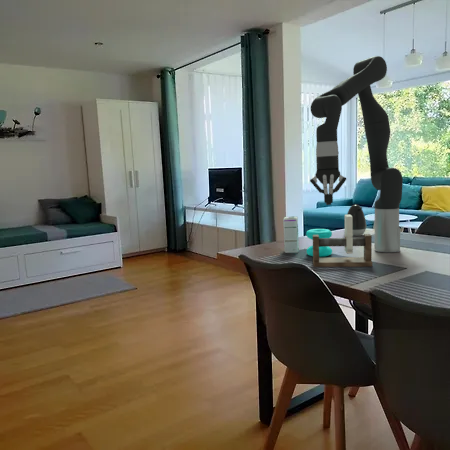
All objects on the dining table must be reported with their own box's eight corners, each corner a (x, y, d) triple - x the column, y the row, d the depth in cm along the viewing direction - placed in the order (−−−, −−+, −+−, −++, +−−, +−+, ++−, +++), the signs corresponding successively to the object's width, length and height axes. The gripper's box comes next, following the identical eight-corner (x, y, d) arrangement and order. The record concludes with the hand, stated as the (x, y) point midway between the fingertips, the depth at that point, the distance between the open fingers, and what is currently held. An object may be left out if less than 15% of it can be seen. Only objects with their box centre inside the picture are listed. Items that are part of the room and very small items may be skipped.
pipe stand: (368, 261, 158) (368, 232, 156) (372, 266, 150) (372, 236, 149) (312, 261, 161) (312, 233, 160) (313, 266, 153) (313, 237, 152)
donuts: (332, 228, 174) (331, 232, 165) (332, 252, 176) (331, 257, 166) (307, 228, 177) (305, 232, 168) (307, 252, 178) (305, 257, 169)
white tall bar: (350, 249, 158) (350, 214, 156) (352, 253, 151) (352, 216, 149) (344, 249, 158) (344, 214, 156) (346, 253, 151) (346, 216, 150)
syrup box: (298, 252, 178) (297, 217, 176) (283, 252, 179) (283, 218, 177) (298, 250, 183) (298, 216, 181) (284, 250, 184) (284, 216, 182)
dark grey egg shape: (351, 237, 207) (351, 206, 205) (340, 234, 217) (340, 204, 215) (370, 235, 209) (370, 204, 207) (359, 232, 219) (359, 203, 217)
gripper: (345, 154, 153) (346, 202, 156) (307, 156, 155) (309, 204, 158) (348, 153, 146) (349, 204, 148) (308, 156, 148) (310, 206, 150)
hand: (328, 204), depth 153 cm, fingers closed
